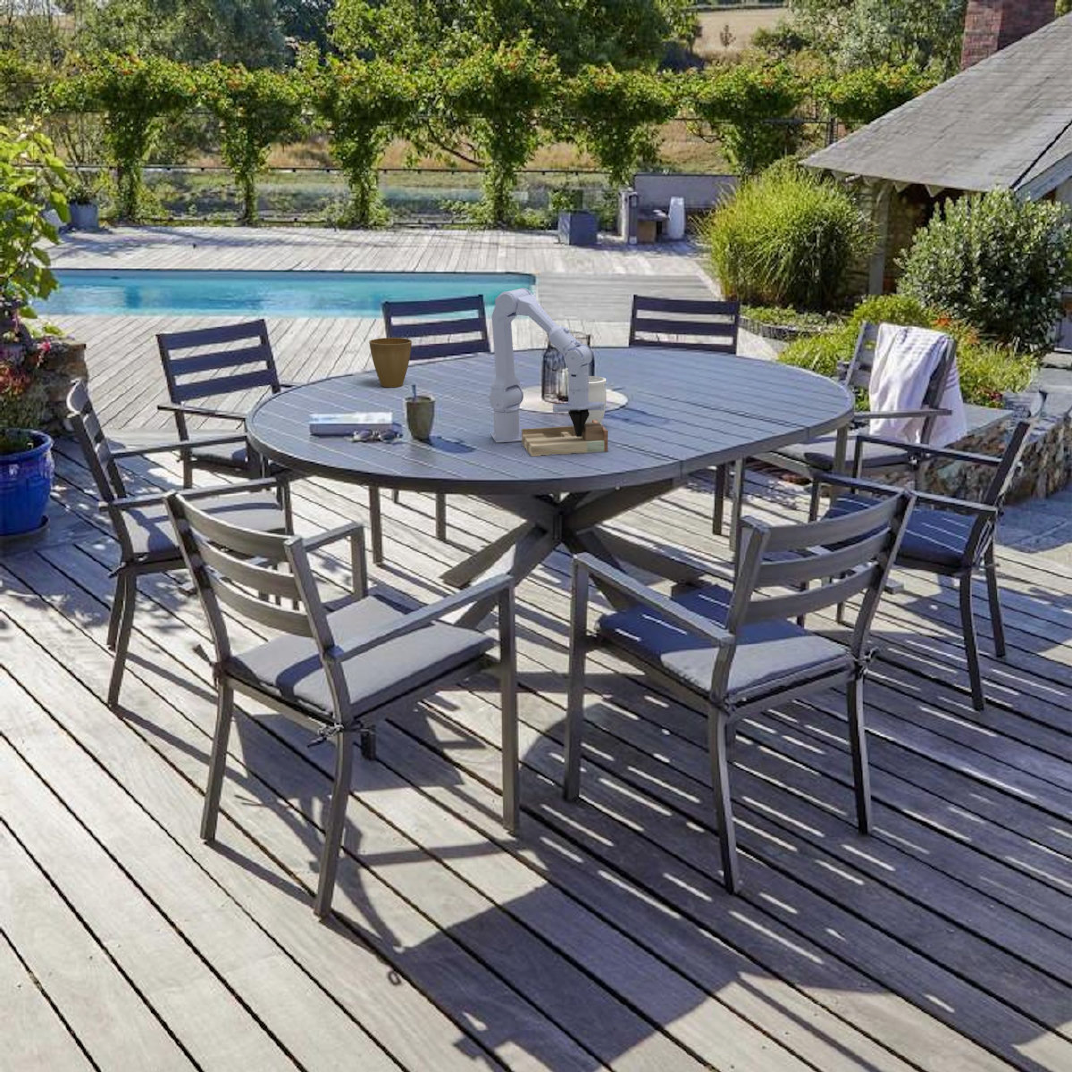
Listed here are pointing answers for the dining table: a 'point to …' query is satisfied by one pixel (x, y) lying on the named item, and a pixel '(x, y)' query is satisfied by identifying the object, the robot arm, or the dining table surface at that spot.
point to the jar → (596, 397)
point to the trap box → (560, 441)
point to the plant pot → (391, 359)
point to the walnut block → (592, 432)
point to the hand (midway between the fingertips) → (578, 435)
